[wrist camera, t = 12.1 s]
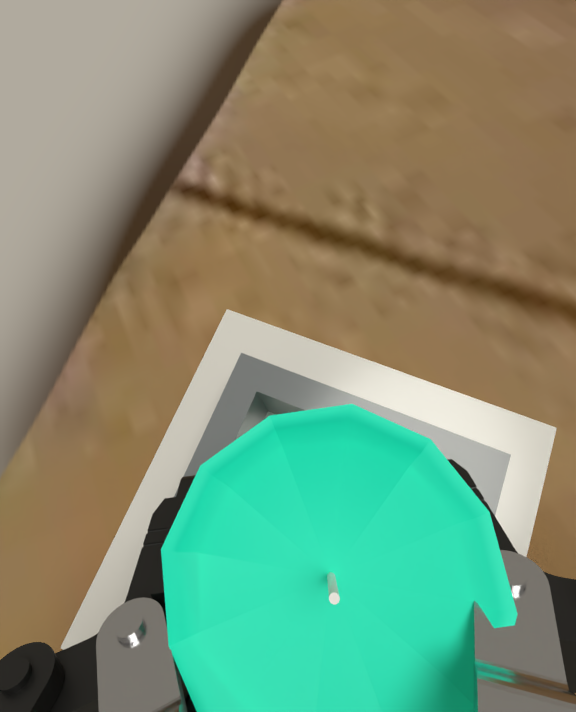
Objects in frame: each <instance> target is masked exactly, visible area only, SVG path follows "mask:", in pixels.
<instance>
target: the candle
mask: <svg viewBox="0 0 576 712" xmlns="http://www.w3.org/2000/svg"><path fill="white" fill-rule="evenodd" d="M161 557H162V569H163V582H164V594H165V607H166V619H167V632H168V645H169V648H170V650H171V651H172V655H173V658H174V660H175V662H176V665H177V667H178V669H179V672H180V674H181V676H182V679H183V681H184V683H185V686H186V688H187V690H188V693H189V695H190V697H191V700H192V702H193V704H194V707H195V709H196V711H197V712H474V601H475V602H477V603H478V604H479V606H480V607H481V609H482V611H483V612H484V614H485V615H486V617H487V618H488V620H489V621H490V623H491V624H492V626H493V627H494V628H499V627H506V626H514V625H515V622H516V618H517V610H516V607H515V603H514V599H513V596H512V592H511V588H510V585H509V581H508V577H507V574H506V570H505V566H504V563H503V559H502V556H501V552H500V548H499V545H498V541H497V537H496V534H495V530H494V526H493V523H492V519H491V516H490V512H489V511H488V510H487V508H486V507H485V506H484V505H483V503H482V502H481V501H480V500H479V498H478V497H477V496H476V495H475V493H474V492H473V491H472V490H471V488H470V487H469V486H468V485H467V483H466V482H465V481H464V480H463V479H462V477H461V476H460V475H459V474H458V472H457V471H456V470H455V469H454V467H453V466H452V465H451V464H450V462H449V461H448V460H447V459H446V457H445V456H444V455H443V454H442V452H441V451H440V450H439V449H438V448H437V446H436V445H435V444H434V443H433V441H432V440H431V439H429V438H427V437H425V436H422V435H420V434H418V433H416V432H414V431H411V430H409V429H407V428H405V427H403V426H400V425H398V424H396V423H394V422H391V421H389V420H387V419H385V418H383V417H380V416H378V415H376V414H374V413H372V412H369V411H367V410H365V409H363V408H361V407H358V406H356V405H354V404H346V405H339V406H332V407H326V408H319V409H312V410H305V411H298V412H291V413H284V414H277V415H270V416H268V417H267V418H266V419H264V420H263V421H261V422H260V423H259V424H257V425H256V426H254V427H253V428H252V429H250V430H249V431H247V432H246V433H245V434H243V435H242V436H240V437H239V438H238V439H236V440H235V441H234V442H232V443H231V444H229V445H228V446H227V447H225V448H224V449H222V450H221V451H220V452H218V453H217V454H215V455H214V456H213V457H211V458H210V459H208V460H207V461H206V462H204V463H203V464H202V465H200V467H199V469H198V471H197V474H196V476H195V478H194V480H193V482H192V484H191V486H190V488H189V491H188V493H187V495H186V497H185V499H184V501H183V503H182V505H181V508H180V510H179V512H178V514H177V516H176V518H175V520H174V522H173V525H172V527H171V529H170V531H169V533H168V535H167V537H166V539H165V542H164V544H163V546H162V548H161Z"/></svg>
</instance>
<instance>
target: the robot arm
mask: <svg viewBox="0 0 576 712" xmlns="http://www.w3.org/2000/svg"><path fill="white" fill-rule="evenodd" d="M448 461H449V462H450V464H451V465H452V466H453V467H454V469H455V470H456V471H457V472H458V474H459V475H460V476H461V477H462V479H463V480H464V481H465V482H466V483H467V485H468V486H469V487H470V488H471V490H472V491H473V492H474V493H475V495H476V496H477V497H478V498H479V500H480V501H481V502H482V503H483V505H484V506H485V507H486V508H487V510H488V511H489V512H490V516H491V519H492V523H493V526H494V530H495V534H496V537H497V541H498V545H499V548H500V552H501V556H502V559H503V563H504V566H505V570H506V574H507V577H508V581H509V585H510V588H511V592H512V596H513V599H514V603H515V607H516V610H517V618H516V622H515V625H514V626H506V627H499V628H494V627H493V626H492V624H491V623H490V621H489V620H488V618H487V617H486V615H485V614H484V612H483V611H482V609H481V607H480V606H479V604H478V603H477V602H475V601H474V712H576V695H575V694H574V693H576V580H574V579H568V578H562V577H557V576H554V575H551V574H548V573H545V572H543V571H542V570H541V569H540V568H539V567H538V565H536V564H535V563H534V562H533V561H531V560H530V559H528V558H527V557H525V556H523V555H521V554H518V552H517V551H516V550H515V548H514V547H513V545H512V543H511V542H510V540H509V538H508V537H507V535H506V533H505V532H504V530H503V529H502V527H501V525H500V524H499V522H498V520H497V519H496V517H495V515H494V514H493V512H492V511H491V509H490V507H489V506H488V504H487V502H486V501H484V497H483V496H482V494H481V492H480V491H479V489H477V487H476V484H475V483H474V481H473V479H472V478H471V476H470V474H469V473H468V471H467V470H466V469H464V468H463V467H462V466H460V465H459V464H458V463H456V462H455V461H454V460H452V459H448ZM195 476H196V475H192V476H185V477H182V478H181V480H180V484H179V488H178V492H177V495H176V497H171V498H165V499H164V500H163V501H162V502H161V504H160V505H159V506H158V508H157V509H156V510H155V511H154V513H153V514H152V517H151V520H150V524H149V527H148V530H147V531H148V533H147V534H146V536H145V540H144V543H143V548H142V549H141V552H140V555H139V559H138V562H137V565H136V568H135V571H134V574H133V578H132V581H131V584H130V587H129V590H128V594H127V597H126V600H125V602H124V604H122V605H120V606H119V607H117V608H116V609H115V610H114V611H113V612H112V613H111V614H110V615H109V616H108V617H107V618H106V620H105V621H104V622H103V624H102V626H101V628H100V630H99V632H98V633H97V634H96V635H94V636H93V637H91V638H89V639H87V640H84V641H82V642H80V643H78V644H75V645H73V646H71V647H69V648H67V649H64V650H62V651H60V652H58V653H54V651H53V650H52V648H51V647H50V646H49V645H47V644H45V643H41V642H34V643H29V644H26V645H23V646H21V647H19V648H16V649H15V650H13V651H12V652H10V653H9V654H7V655H6V656H5V657H3V658H2V659H1V660H0V712H197V711H196V709H195V707H194V704H193V702H192V700H191V697H190V695H189V693H188V690H187V688H186V686H185V683H184V681H183V679H182V676H181V674H180V672H179V669H178V667H177V665H176V662H175V660H174V658H173V655H172V651H171V650H170V648H169V645H168V632H167V619H166V607H165V594H164V582H163V569H162V557H161V548H162V546H163V544H164V542H165V539H166V537H167V535H168V533H169V531H170V529H171V527H172V525H173V522H174V520H175V518H176V516H177V514H178V512H179V510H180V508H181V505H182V503H183V501H184V499H185V497H186V495H187V493H188V491H189V488H190V486H191V484H192V482H193V480H194V478H195Z"/></svg>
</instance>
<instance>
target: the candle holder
mask: <svg viewBox="0 0 576 712" xmlns="http://www.w3.org/2000/svg"><path fill="white" fill-rule="evenodd" d="M346 404H354V405H356V406H358V407H361V408H363V409H365V410H367V411H369V412H372V413H374V414H376V415H378V416H380V417H383V418H385V419H387V420H389V421H391V422H394V423H396V424H398V425H400V426H403V427H405V428H407V429H409V430H411V431H414V432H416V433H418V434H420V435H422V436H425V437H427V438H429V439H431V440H432V441H433V443H434V444H435V445H436V446H437V448H438V449H439V450H440V451H441V452H442V454H443V455H444V456H445V457H446V459H447V460H448V459H452V460H454V461H455V462H456V463H458V464H459V465H460V466H462V467H463V468H464V469H466V470H467V471H468V473H469V474H470V476H471V478H472V479H473V481H474V483H475V484H476V487H477V489H479V491H480V492H481V494H482V496H483V497H484V501H486V502H487V504H488V506H489V507H490V509H491V511H492V512H493V514H494V515H495V517H496V519H497V520H498V522H499V524H500V525H501V527H502V529H503V530H504V532H505V533H506V535H507V537H508V538H509V540H510V542H511V543H512V545H513V547H514V548H515V550H516V551H517V552H518V554H521V555H523V556H525V557H526V556H527V552H528V548H529V543H530V539H531V535H532V531H533V526H534V522H535V518H536V514H537V509H538V505H539V501H540V497H541V492H542V488H543V484H544V479H545V475H546V471H547V467H548V462H549V458H550V454H551V450H552V445H553V441H554V437H555V433H556V428H555V427H553V426H550V425H547V424H544V423H541V422H539V421H536V420H533V419H530V418H528V417H525V416H522V415H519V414H516V413H514V412H511V411H508V410H505V409H503V408H500V407H497V406H494V405H492V404H489V403H486V402H483V401H480V400H478V399H475V398H472V397H469V396H467V395H464V394H461V393H458V392H455V391H453V390H450V389H447V388H444V387H442V386H439V385H436V384H433V383H430V382H428V381H425V380H422V379H419V378H417V377H414V376H411V375H408V374H405V373H403V372H400V371H397V370H394V369H392V368H389V367H386V366H383V365H380V364H378V363H375V362H372V361H369V360H367V359H364V358H361V357H358V356H355V355H353V354H350V353H347V352H344V351H342V350H339V349H336V348H333V347H330V346H328V345H325V344H322V343H319V342H317V341H314V340H311V339H308V338H305V337H303V336H300V335H297V334H294V333H292V332H289V331H286V330H283V329H281V328H278V327H275V326H272V325H269V324H267V323H264V322H261V321H258V320H256V319H253V318H250V317H247V316H244V315H242V314H239V313H236V312H233V311H231V310H228V309H227V310H226V312H225V314H224V316H223V318H222V320H221V322H220V324H219V326H218V328H217V330H216V332H215V334H214V337H213V339H212V341H211V343H210V345H209V347H208V349H207V351H206V353H205V355H204V357H203V359H202V361H201V363H200V365H199V367H198V369H197V371H196V373H195V375H194V377H193V379H192V381H191V383H190V385H189V387H188V389H187V391H186V393H185V395H184V398H183V400H182V402H181V404H180V406H179V408H178V410H177V412H176V414H175V416H174V418H173V420H172V422H171V424H170V426H169V428H168V430H167V432H166V434H165V436H164V438H163V440H162V442H161V444H160V446H159V448H158V450H157V452H156V454H155V456H154V459H153V461H152V463H151V465H150V467H149V469H148V471H147V473H146V475H145V477H144V479H143V481H142V483H141V485H140V487H139V489H138V491H137V493H136V495H135V497H134V499H133V501H132V503H131V505H130V507H129V509H128V511H127V513H126V515H125V517H124V520H123V522H122V524H121V526H120V528H119V530H118V532H117V534H116V536H115V538H114V540H113V542H112V544H111V546H110V548H109V550H108V552H107V554H106V556H105V558H104V560H103V562H102V564H101V566H100V568H99V570H98V572H97V574H96V576H95V578H94V581H93V583H92V585H91V587H90V589H89V591H88V593H87V595H86V597H85V599H84V601H83V603H82V605H81V607H80V609H79V611H78V613H77V615H76V617H75V619H74V621H73V623H72V625H71V627H70V629H69V631H68V633H67V635H66V637H65V639H64V642H63V644H62V646H61V649H63V650H64V649H67V648H69V647H71V646H73V645H75V644H78V643H80V642H82V641H84V640H87V639H89V638H91V637H93V636H94V635H96V634H97V633H98V632H99V630H100V628H101V626H102V624H103V622H104V621H105V620H106V618H107V617H108V616H109V615H110V614H111V613H112V612H113V611H114V610H115V609H116V608H117V607H119V606H120V605H122V604H124V602H125V600H126V597H127V594H128V590H129V587H130V584H131V581H132V578H133V574H134V571H135V568H136V565H137V562H138V559H139V555H140V552H141V549H142V548H143V543H144V540H145V536H146V534H147V533H148V531H147V530H148V527H149V524H150V520H151V517H152V514H153V513H154V511H155V510H156V509H157V508H158V506H159V505H160V504H161V502H162V501H163V500H164V499H165V498H171V497H176V495H177V492H178V488H179V484H180V480H181V478H182V477H185V476H192V475H196V474H197V471H198V469H199V467H200V465H202V464H203V463H204V462H206V461H207V460H208V459H210V458H211V457H213V456H214V455H215V454H217V453H218V452H220V451H221V450H222V449H224V448H225V447H227V446H228V445H229V444H231V443H232V442H234V441H235V440H236V439H238V438H239V437H240V436H242V435H243V434H245V433H246V432H247V431H249V430H250V429H252V428H253V427H254V426H256V425H257V424H259V423H260V422H261V421H263V420H264V419H266V418H267V417H268V416H270V415H277V414H284V413H291V412H298V411H305V410H312V409H319V408H326V407H332V406H339V405H346Z"/></svg>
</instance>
